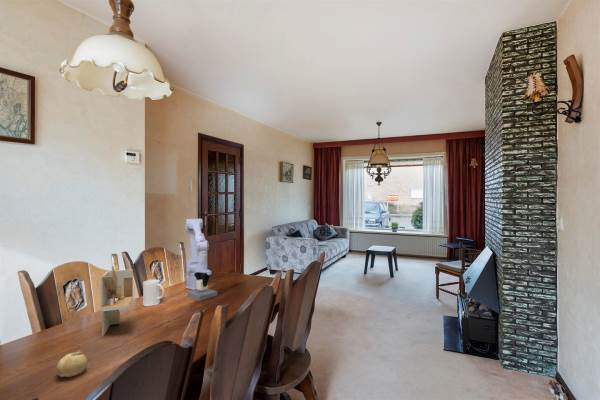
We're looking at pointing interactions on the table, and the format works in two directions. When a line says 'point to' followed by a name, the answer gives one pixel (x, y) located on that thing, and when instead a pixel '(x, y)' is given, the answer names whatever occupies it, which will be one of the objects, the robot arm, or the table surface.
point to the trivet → (202, 294)
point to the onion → (71, 364)
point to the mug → (151, 292)
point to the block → (200, 285)
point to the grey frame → (115, 295)
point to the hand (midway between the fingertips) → (202, 285)
